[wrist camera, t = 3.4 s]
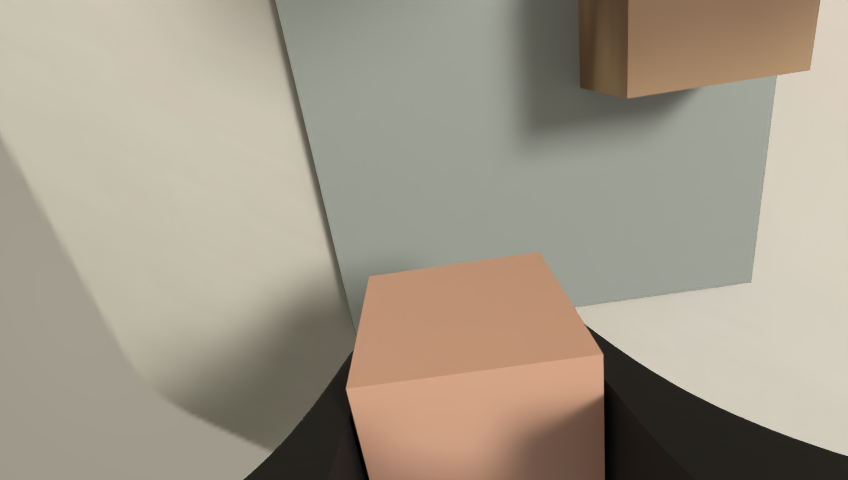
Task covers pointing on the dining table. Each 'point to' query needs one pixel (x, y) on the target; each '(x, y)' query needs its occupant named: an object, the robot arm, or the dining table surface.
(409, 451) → the terracotta cube
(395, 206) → the slate board
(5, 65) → the dining table surface
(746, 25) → the walnut block
